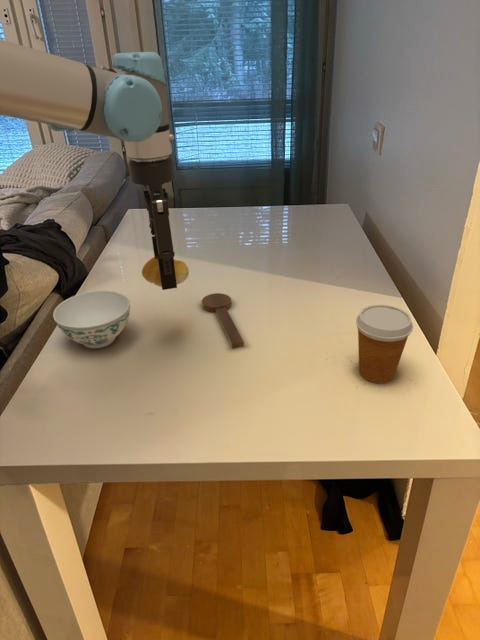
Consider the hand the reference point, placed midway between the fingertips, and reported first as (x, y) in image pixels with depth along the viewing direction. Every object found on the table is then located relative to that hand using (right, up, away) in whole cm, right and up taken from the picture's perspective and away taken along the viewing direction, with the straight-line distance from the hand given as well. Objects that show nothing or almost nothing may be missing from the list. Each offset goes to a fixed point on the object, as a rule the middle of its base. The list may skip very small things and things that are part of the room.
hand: (165, 276), depth 90 cm
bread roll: (0, 0, 0) cm, 0 cm away
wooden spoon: (+11, -9, +13) cm, 19 cm away
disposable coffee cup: (+40, -18, -5) cm, 44 cm away
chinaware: (-15, -13, +8) cm, 21 cm away
